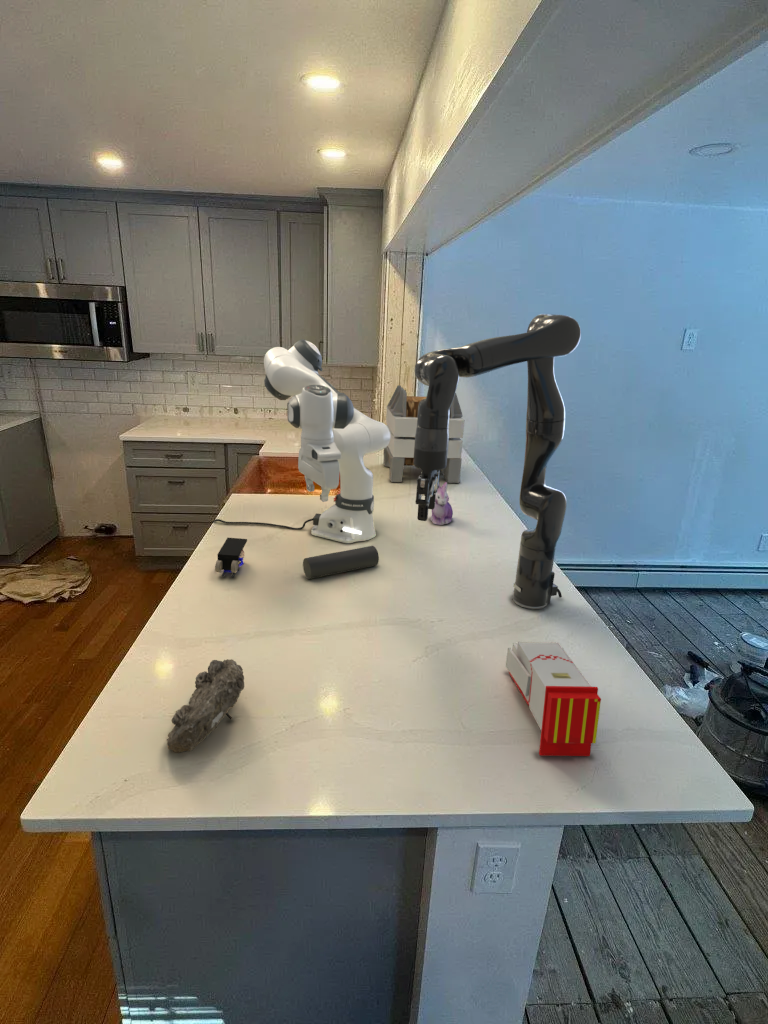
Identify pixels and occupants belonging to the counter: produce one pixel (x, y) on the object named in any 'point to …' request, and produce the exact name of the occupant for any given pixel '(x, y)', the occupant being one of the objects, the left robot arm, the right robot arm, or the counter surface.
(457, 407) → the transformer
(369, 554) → the rod
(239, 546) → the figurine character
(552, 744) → the toy
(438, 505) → the figurine
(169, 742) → the fossil
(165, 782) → the counter surface
